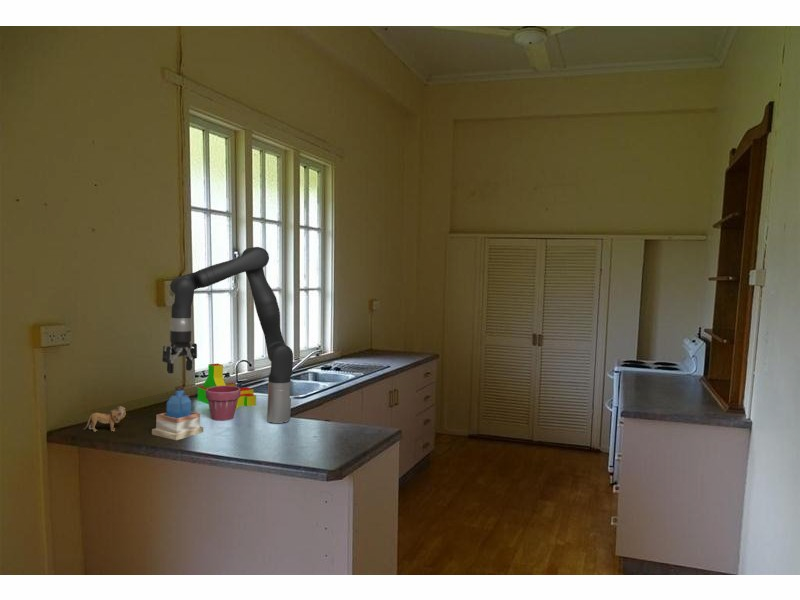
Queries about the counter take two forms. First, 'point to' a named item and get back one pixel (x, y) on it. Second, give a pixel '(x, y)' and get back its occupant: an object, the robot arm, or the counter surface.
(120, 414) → the lion figurine
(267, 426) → the counter surface
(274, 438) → the counter surface
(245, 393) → the building blocks toy
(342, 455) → the counter surface
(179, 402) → the perfume bottle
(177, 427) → the pedestal
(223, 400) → the plant pot
